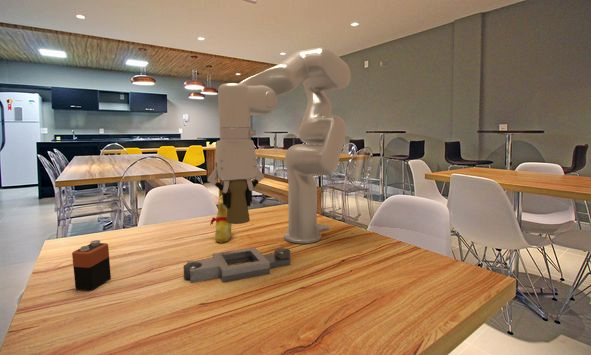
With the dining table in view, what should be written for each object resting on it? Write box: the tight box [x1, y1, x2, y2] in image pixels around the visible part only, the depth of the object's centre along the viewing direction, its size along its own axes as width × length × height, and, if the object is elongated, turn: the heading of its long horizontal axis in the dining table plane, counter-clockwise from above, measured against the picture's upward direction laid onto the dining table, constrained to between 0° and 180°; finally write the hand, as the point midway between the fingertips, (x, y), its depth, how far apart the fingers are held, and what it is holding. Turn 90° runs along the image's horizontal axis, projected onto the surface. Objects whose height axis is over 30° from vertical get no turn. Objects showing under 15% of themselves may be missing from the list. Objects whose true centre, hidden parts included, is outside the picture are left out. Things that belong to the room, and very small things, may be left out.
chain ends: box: [183, 247, 291, 284], centre depth 88 cm, size 28×12×3 cm, turn 115°
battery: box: [71, 239, 112, 291], centre depth 78 cm, size 4×7×10 cm, turn 172°
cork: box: [226, 180, 251, 225], centre depth 86 cm, size 6×6×11 cm
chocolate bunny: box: [210, 194, 233, 244], centre depth 112 cm, size 7×11×15 cm, turn 2°
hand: (237, 205), depth 86 cm, fingers closed on cork, 4 cm apart
